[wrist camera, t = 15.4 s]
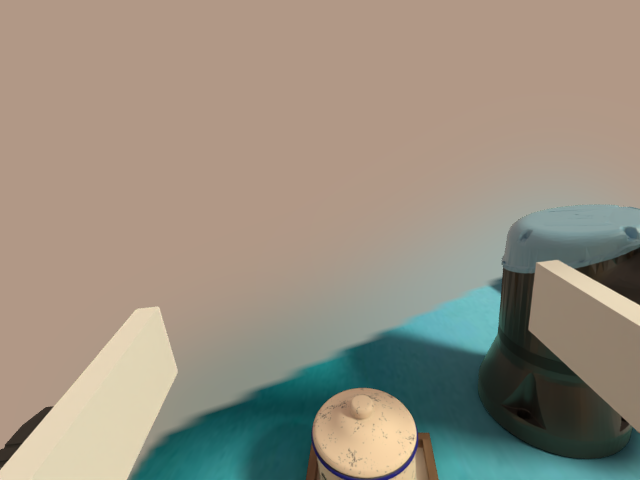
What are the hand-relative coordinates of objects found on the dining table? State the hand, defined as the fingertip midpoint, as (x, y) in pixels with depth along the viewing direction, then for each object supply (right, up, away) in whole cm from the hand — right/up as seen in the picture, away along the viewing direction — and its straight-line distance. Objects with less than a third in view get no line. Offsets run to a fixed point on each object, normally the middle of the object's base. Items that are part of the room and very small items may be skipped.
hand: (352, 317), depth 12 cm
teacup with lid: (+4, -22, +19) cm, 30 cm away
